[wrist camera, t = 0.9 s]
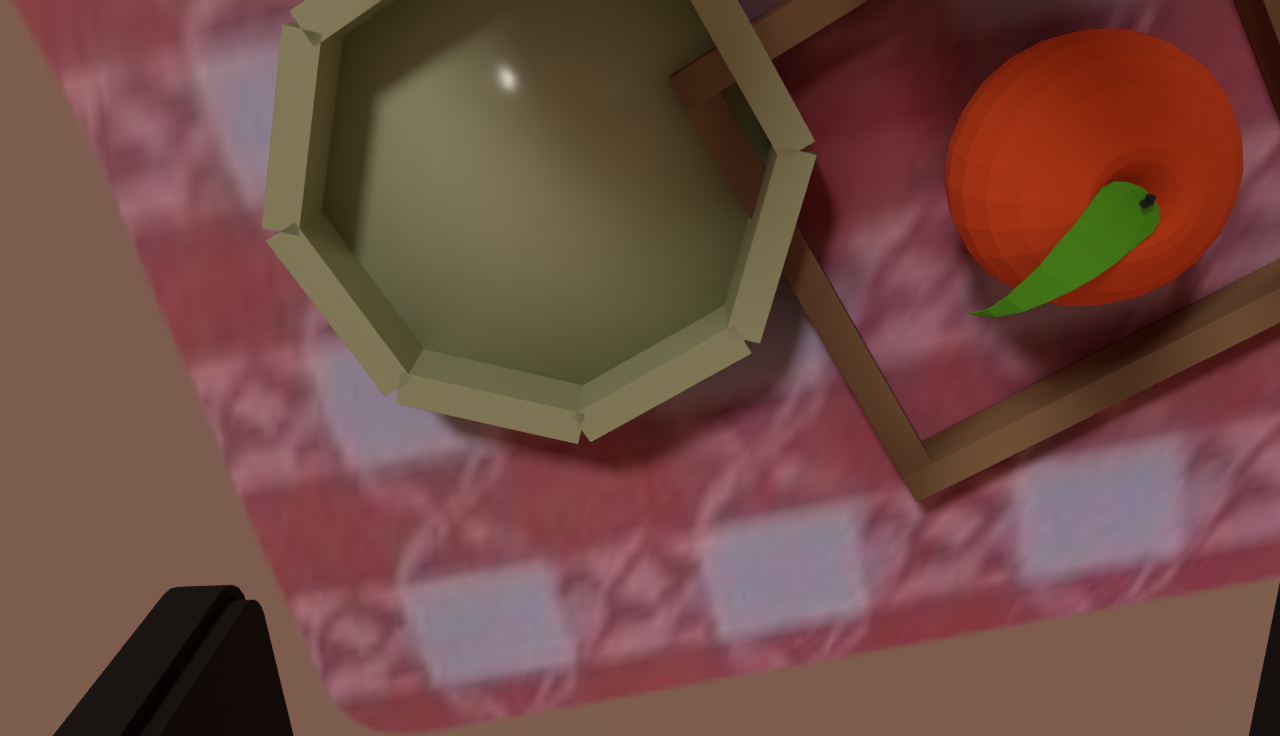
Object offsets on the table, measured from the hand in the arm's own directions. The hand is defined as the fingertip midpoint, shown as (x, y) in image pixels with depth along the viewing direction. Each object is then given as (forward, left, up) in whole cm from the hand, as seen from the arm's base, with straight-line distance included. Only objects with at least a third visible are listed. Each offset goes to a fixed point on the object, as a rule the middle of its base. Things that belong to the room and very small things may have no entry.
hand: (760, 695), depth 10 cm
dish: (+4, -3, -22) cm, 23 cm away
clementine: (-8, +4, -22) cm, 24 cm away
